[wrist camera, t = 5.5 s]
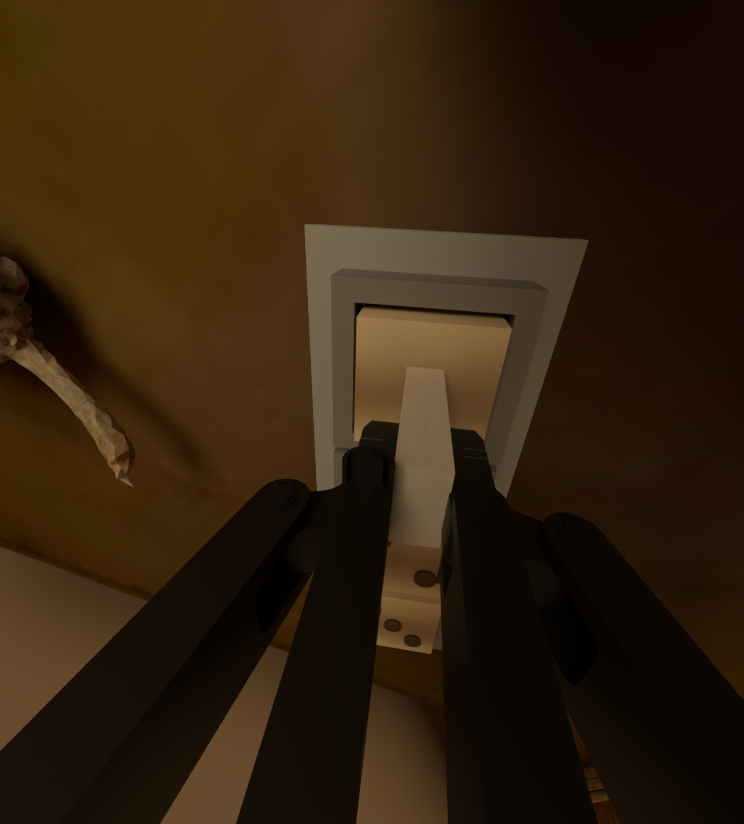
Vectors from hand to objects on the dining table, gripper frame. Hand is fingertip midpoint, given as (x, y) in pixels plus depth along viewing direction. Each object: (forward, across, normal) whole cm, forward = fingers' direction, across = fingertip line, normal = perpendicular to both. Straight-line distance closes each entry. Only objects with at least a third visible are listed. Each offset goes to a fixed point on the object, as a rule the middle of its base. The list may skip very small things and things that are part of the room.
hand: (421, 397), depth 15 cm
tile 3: (+4, 0, -18) cm, 18 cm away
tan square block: (+3, 0, 0) cm, 3 cm away
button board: (+5, 0, -9) cm, 10 cm away
